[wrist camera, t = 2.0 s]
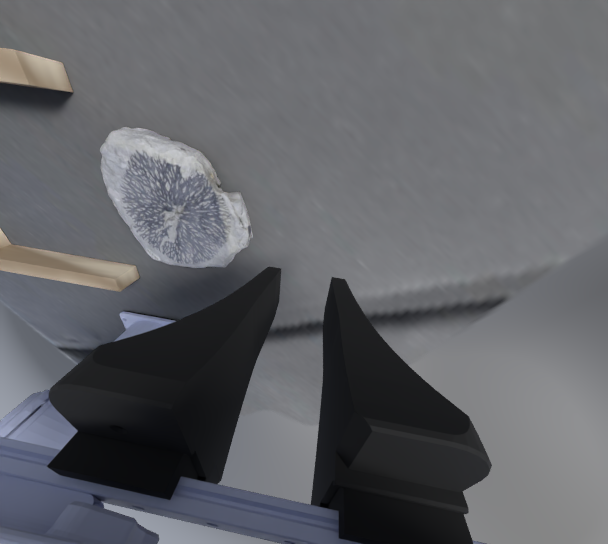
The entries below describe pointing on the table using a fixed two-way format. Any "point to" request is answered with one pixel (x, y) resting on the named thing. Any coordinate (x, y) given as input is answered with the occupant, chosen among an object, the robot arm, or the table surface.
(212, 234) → the fossil
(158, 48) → the table surface
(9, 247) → the bay
